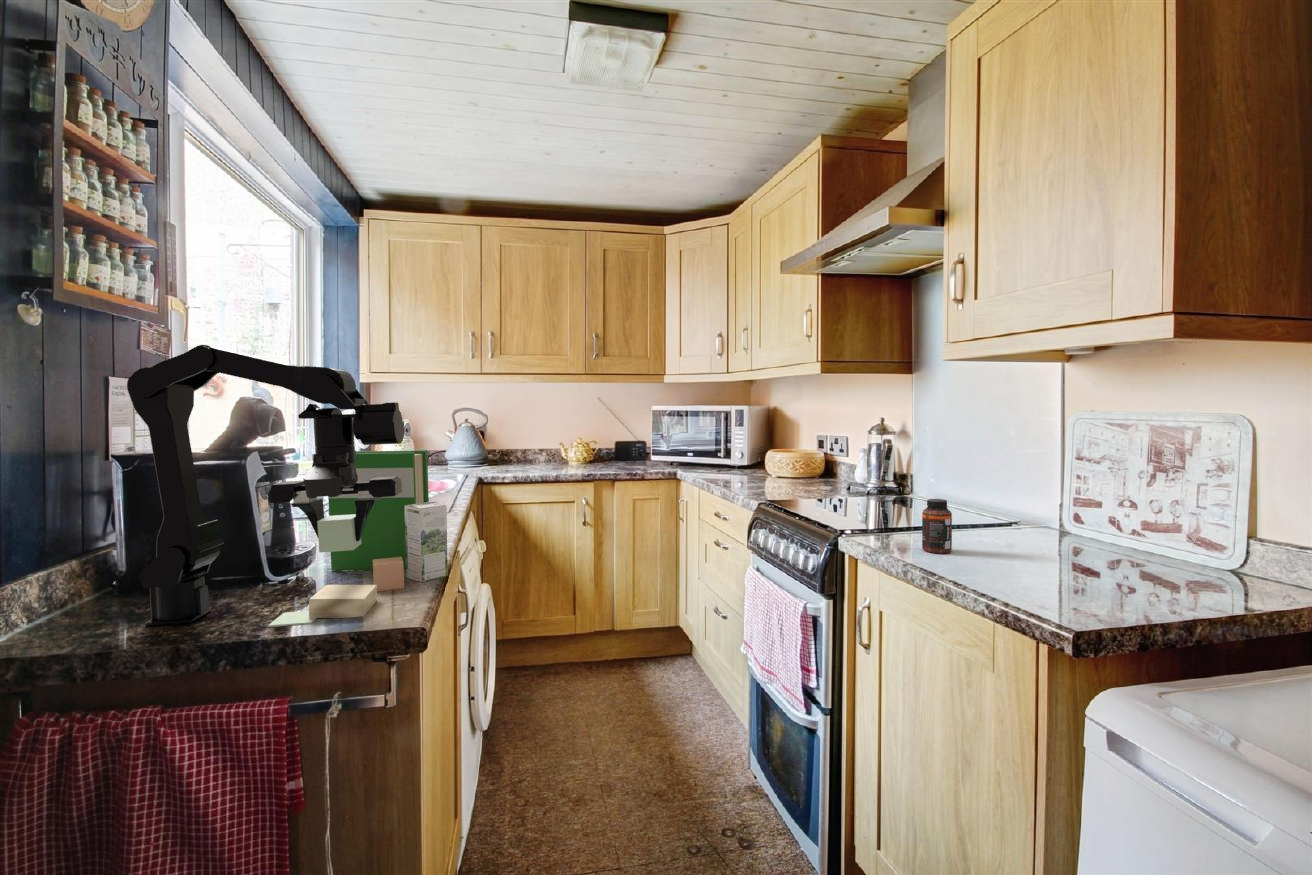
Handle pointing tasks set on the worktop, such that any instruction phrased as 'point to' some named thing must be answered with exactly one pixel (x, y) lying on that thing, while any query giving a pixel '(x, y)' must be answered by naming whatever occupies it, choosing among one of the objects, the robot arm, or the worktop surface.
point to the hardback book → (382, 507)
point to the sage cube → (337, 533)
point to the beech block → (342, 601)
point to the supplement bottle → (937, 527)
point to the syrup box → (426, 541)
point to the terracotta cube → (388, 573)
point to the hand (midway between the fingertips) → (340, 541)
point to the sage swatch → (292, 619)
